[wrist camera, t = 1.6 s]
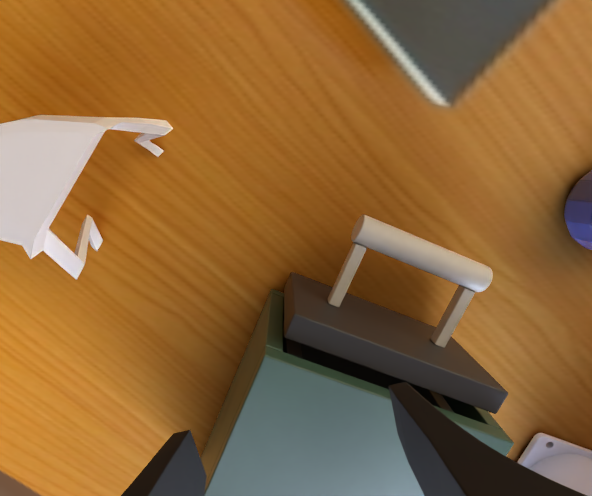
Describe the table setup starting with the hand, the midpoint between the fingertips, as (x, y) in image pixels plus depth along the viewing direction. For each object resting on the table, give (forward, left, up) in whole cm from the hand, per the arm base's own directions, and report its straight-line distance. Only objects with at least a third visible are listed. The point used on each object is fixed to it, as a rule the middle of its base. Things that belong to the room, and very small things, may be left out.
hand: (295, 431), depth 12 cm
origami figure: (+14, -4, -10) cm, 17 cm away
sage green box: (-4, +5, -10) cm, 12 cm away
